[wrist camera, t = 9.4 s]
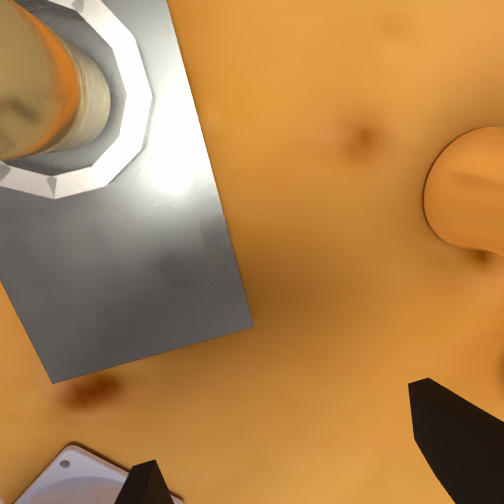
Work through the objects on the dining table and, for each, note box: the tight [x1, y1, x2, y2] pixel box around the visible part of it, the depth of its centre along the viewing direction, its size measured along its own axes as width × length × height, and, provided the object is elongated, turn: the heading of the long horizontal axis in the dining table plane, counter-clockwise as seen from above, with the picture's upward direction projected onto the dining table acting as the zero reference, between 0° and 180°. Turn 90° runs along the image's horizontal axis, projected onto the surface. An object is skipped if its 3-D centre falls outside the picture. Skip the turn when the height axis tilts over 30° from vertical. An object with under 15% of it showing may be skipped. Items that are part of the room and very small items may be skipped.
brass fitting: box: [0, 0, 111, 161], centre depth 11 cm, size 4×4×7 cm
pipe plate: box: [0, 0, 254, 384], centre depth 15 cm, size 18×10×2 cm, turn 13°
